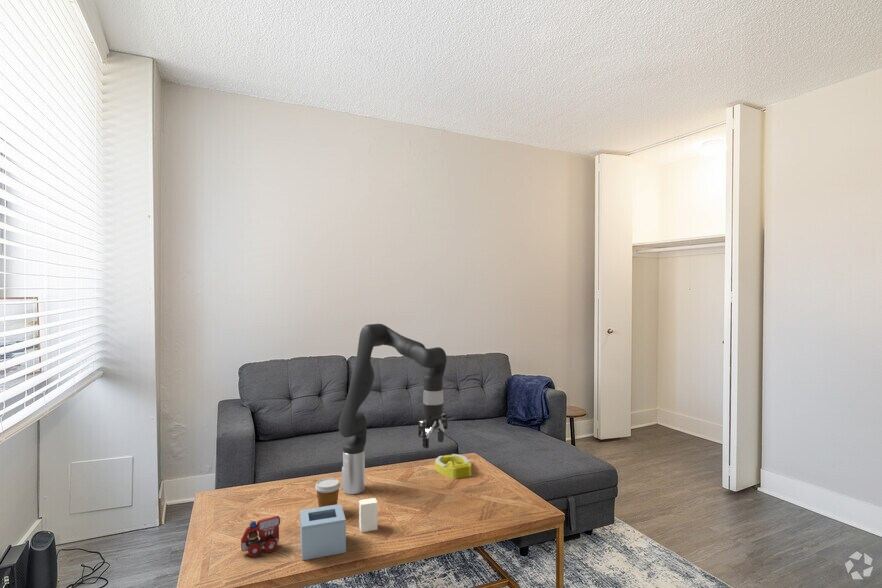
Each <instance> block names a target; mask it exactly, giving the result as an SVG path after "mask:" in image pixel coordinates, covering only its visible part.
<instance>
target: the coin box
mask: <svg viewBox="0 0 882 588" xmlns="http://www.w3.org/2000/svg"><path fill="white" fill-rule="evenodd" d="M299 517H300V519H299V520H300V526H299V528H300V530H299V532H300V551H301V552H300V553H301V560H302V561H307V560H312V559H316V558H317V559H318V558H322V557H328V556H334V555H338V554H339V555H340V554H344V553H346V552H347V536H346V535H347V524H346V523H347V521H346V520H347V519H346V516H345V512H344V509H343V506H342V503H339V504H338V503H337V505H330V506H324V507H319V506H317V507H312V508H305V509H300V514H299Z"/></svg>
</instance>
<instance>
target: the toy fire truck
mask: <svg viewBox="0 0 882 588" xmlns="http://www.w3.org/2000/svg"><path fill="white" fill-rule="evenodd" d="M280 524H281V517H280V516H279V515H274V516H270V517H266V518H262V519H258V521H257V522H256V521H254V520H253V521H250V523H249V526H248V527H246V529H245V530H244V533H243V534H242V537H241V539H240V546H241V547H240V548H241V550H240V551H242V552H247V553H248V555H249V556H250V557H256V556H258V555H259V554H260V553H261V551H262V547H263V549H264V550H265V552H266V553H272V552H275V551H276V550H277V547H278V542H279V541H280Z"/></svg>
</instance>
